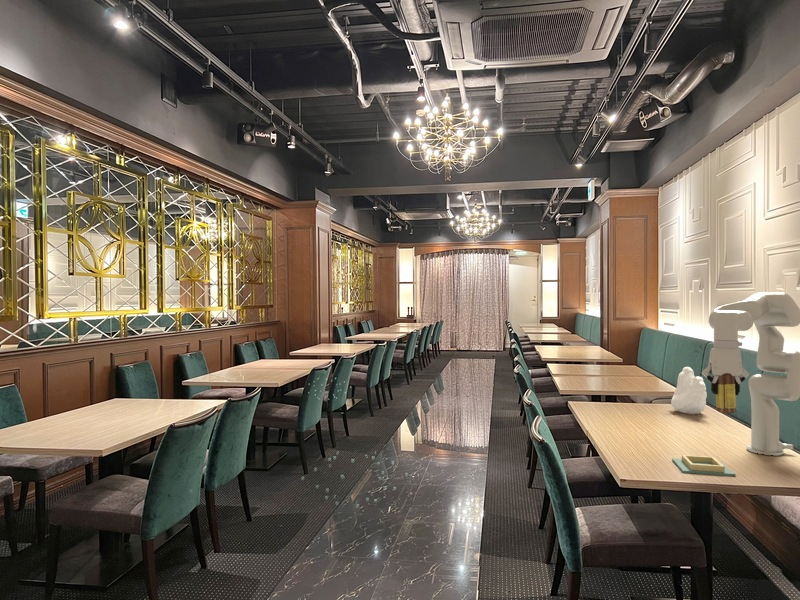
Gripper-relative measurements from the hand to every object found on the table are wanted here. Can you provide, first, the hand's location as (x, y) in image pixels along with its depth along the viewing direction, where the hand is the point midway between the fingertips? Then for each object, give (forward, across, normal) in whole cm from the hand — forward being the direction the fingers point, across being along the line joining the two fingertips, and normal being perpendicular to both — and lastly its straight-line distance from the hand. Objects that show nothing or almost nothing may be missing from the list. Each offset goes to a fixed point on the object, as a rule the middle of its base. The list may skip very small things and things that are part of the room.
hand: (725, 393), depth 199 cm
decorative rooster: (+27, -18, -101) cm, 106 cm away
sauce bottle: (+7, 0, 0) cm, 7 cm away
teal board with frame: (+28, +7, 0) cm, 29 cm away
